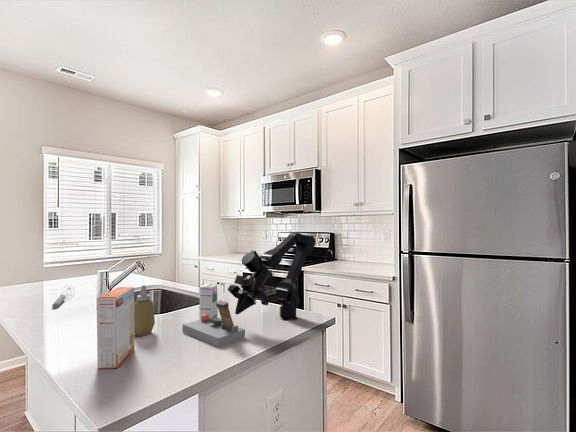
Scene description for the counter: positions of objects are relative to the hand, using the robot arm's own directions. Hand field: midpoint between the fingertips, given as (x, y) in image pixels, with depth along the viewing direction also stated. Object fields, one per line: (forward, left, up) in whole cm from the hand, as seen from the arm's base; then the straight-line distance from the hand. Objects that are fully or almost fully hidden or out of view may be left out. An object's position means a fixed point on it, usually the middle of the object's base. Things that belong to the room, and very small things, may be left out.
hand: (236, 313), depth 124 cm
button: (+11, -10, -5) cm, 16 cm away
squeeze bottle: (+34, -10, -8) cm, 36 cm away
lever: (+3, +2, -4) cm, 5 cm away
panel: (+8, -3, -8) cm, 12 cm away
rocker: (+7, -5, -5) cm, 10 cm away
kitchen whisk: (+82, -71, -9) cm, 109 cm away
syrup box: (+10, -23, -8) cm, 26 cm away
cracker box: (+38, +12, -8) cm, 40 cm away
